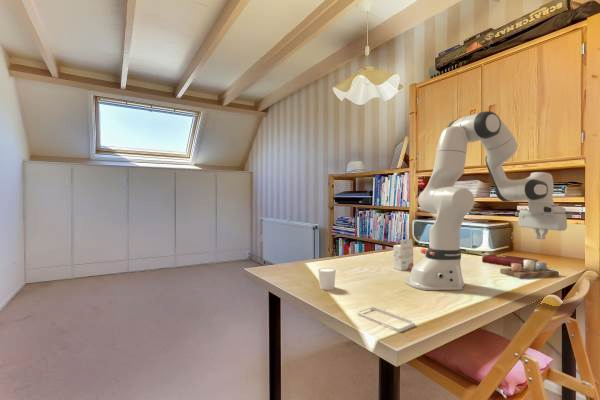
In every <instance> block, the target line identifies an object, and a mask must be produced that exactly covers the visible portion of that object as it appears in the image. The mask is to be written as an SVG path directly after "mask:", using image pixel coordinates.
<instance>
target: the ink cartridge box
mask: <svg viewBox="0 0 600 400" xmlns="http://www.w3.org/2000/svg"><path fill="white" fill-rule="evenodd" d="M399 242H400V244H393V269H394V270H397V269H398V270H397V271H401V270H402V271H406V270H412V267H413V266H414V244H413V239H412V238H408V239H407V238H406V239H400V241H399Z"/></svg>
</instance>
